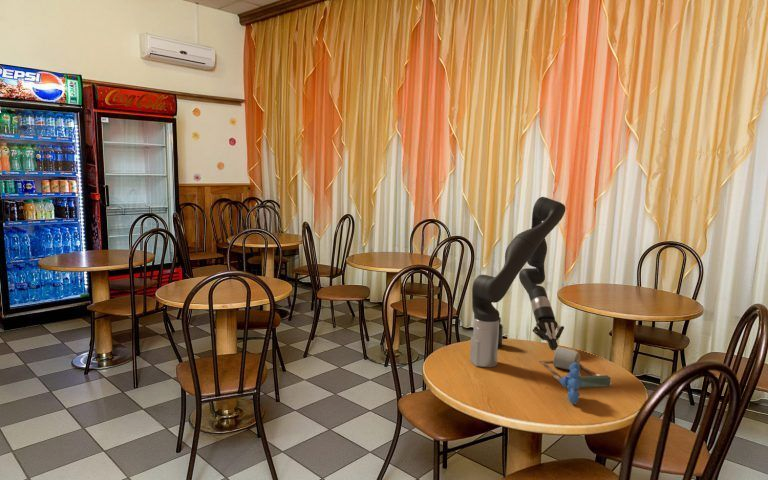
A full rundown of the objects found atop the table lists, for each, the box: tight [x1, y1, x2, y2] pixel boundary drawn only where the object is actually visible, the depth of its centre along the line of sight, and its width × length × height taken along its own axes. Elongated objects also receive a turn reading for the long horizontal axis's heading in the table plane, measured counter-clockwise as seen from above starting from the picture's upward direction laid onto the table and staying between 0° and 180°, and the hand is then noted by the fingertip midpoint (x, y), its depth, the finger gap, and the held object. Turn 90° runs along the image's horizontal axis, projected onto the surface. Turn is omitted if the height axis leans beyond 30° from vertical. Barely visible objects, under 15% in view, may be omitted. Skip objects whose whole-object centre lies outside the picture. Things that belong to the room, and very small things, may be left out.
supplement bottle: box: [498, 316, 504, 349], centre depth 203 cm, size 7×7×12 cm
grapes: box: [558, 362, 582, 405], centre depth 153 cm, size 12×7×12 cm, turn 160°
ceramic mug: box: [552, 346, 582, 371], centre depth 181 cm, size 11×8×8 cm
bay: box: [539, 360, 613, 388], centre depth 175 cm, size 23×17×3 cm
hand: (554, 349), depth 189 cm, fingers closed
